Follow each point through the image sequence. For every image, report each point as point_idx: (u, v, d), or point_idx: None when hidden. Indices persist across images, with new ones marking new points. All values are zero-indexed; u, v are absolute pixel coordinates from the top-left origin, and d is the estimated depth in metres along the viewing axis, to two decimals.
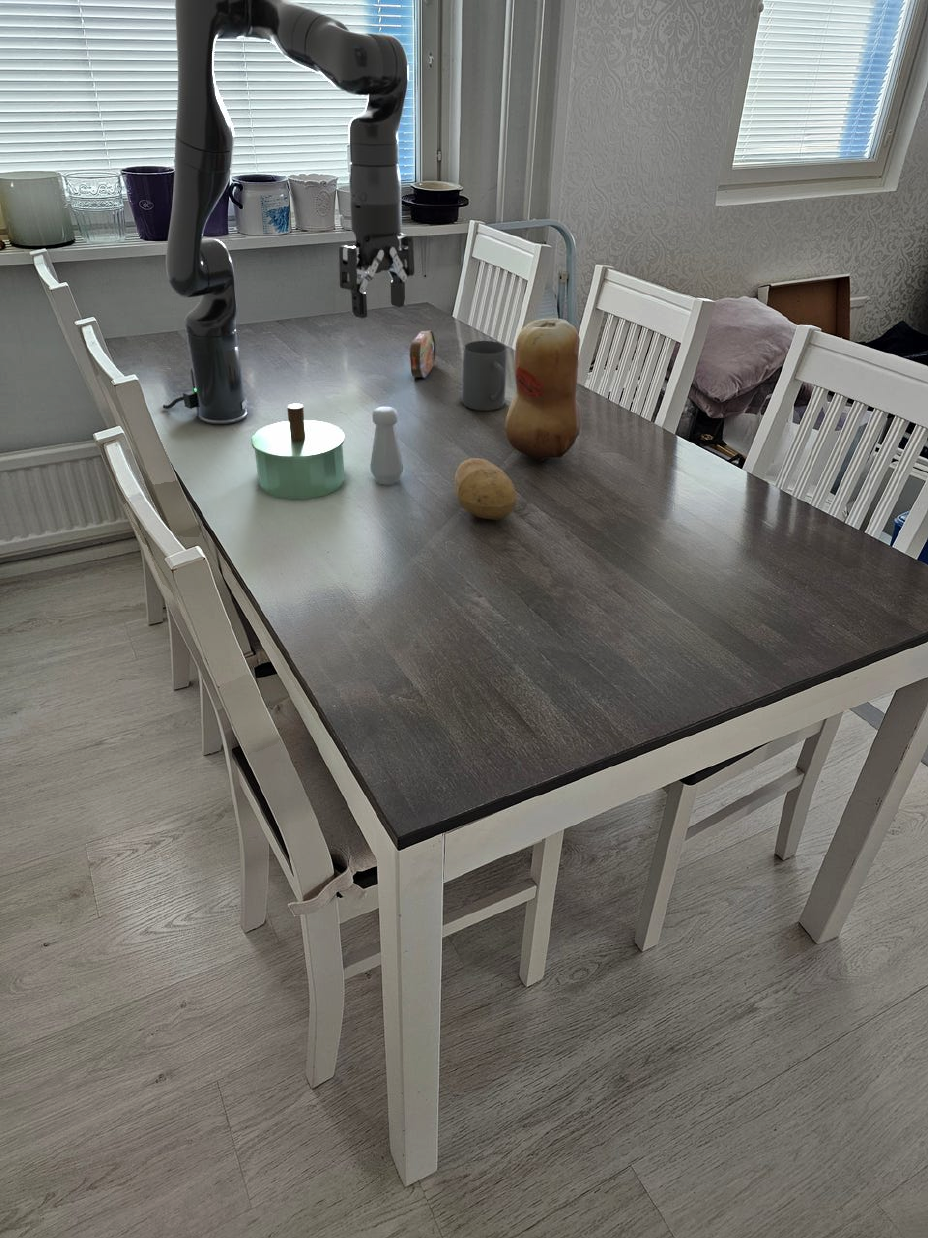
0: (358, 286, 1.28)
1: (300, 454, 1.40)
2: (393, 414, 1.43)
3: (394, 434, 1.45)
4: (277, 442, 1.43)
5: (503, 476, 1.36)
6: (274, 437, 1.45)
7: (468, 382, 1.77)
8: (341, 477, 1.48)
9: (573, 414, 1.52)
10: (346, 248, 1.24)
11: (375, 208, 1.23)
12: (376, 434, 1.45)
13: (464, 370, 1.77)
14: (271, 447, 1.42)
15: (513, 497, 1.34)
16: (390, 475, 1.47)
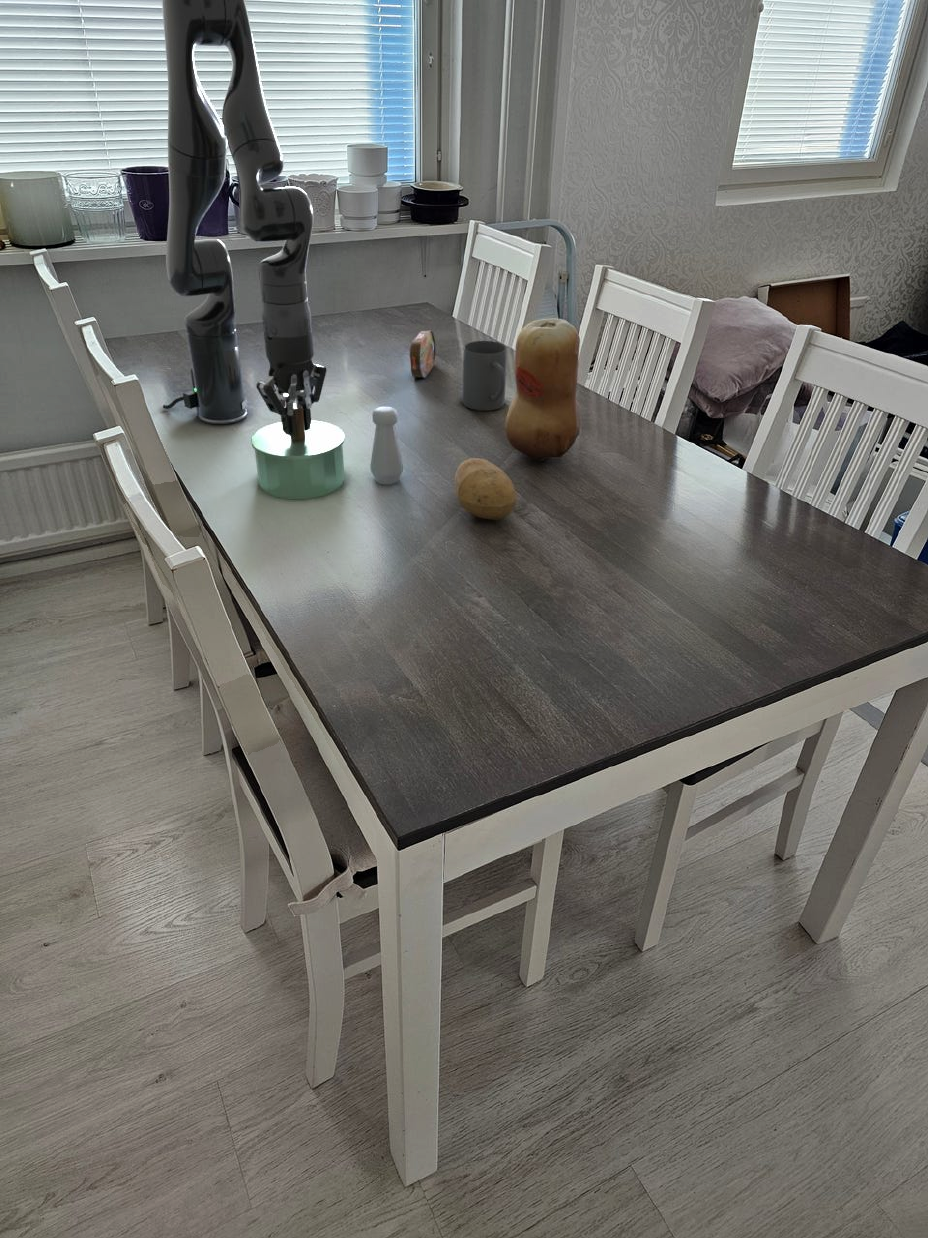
0: (286, 410, 1.40)
1: (300, 454, 1.40)
2: (393, 414, 1.43)
3: (394, 434, 1.45)
4: (277, 442, 1.43)
5: (503, 476, 1.36)
6: (274, 437, 1.45)
7: (468, 382, 1.77)
8: (341, 477, 1.48)
9: (573, 414, 1.52)
10: (261, 387, 1.35)
11: (285, 340, 1.32)
12: (376, 434, 1.45)
13: (464, 370, 1.77)
14: (271, 447, 1.42)
15: (513, 497, 1.34)
16: (390, 475, 1.47)
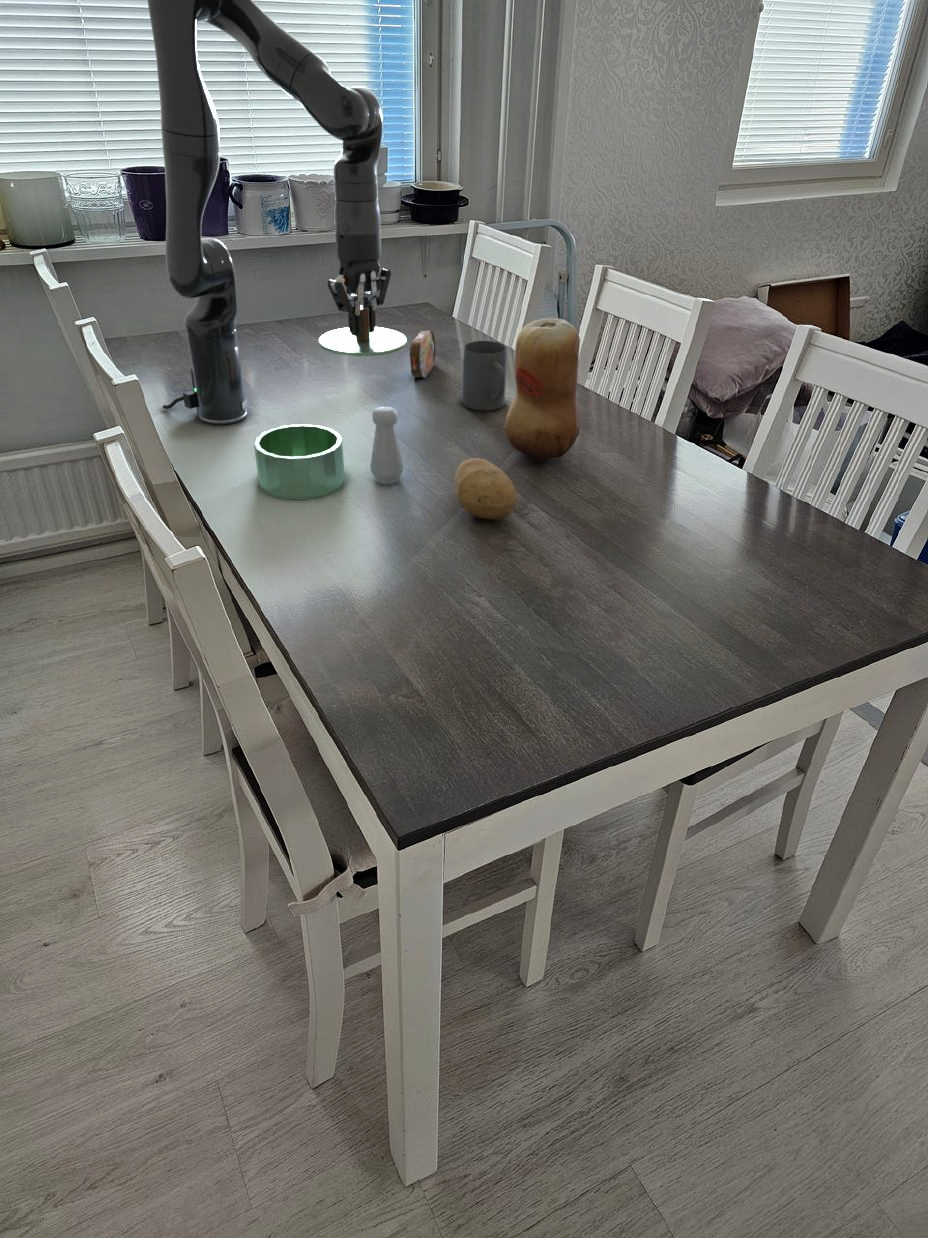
0: (354, 309, 1.47)
1: (367, 351, 1.47)
2: (393, 414, 1.43)
3: (394, 434, 1.45)
4: (344, 342, 1.51)
5: (503, 476, 1.36)
6: (340, 338, 1.52)
7: (468, 382, 1.77)
8: (341, 477, 1.48)
9: (573, 414, 1.52)
10: (333, 284, 1.42)
11: (357, 238, 1.40)
12: (376, 434, 1.45)
13: (464, 370, 1.77)
14: (338, 346, 1.49)
15: (513, 497, 1.34)
16: (390, 475, 1.47)
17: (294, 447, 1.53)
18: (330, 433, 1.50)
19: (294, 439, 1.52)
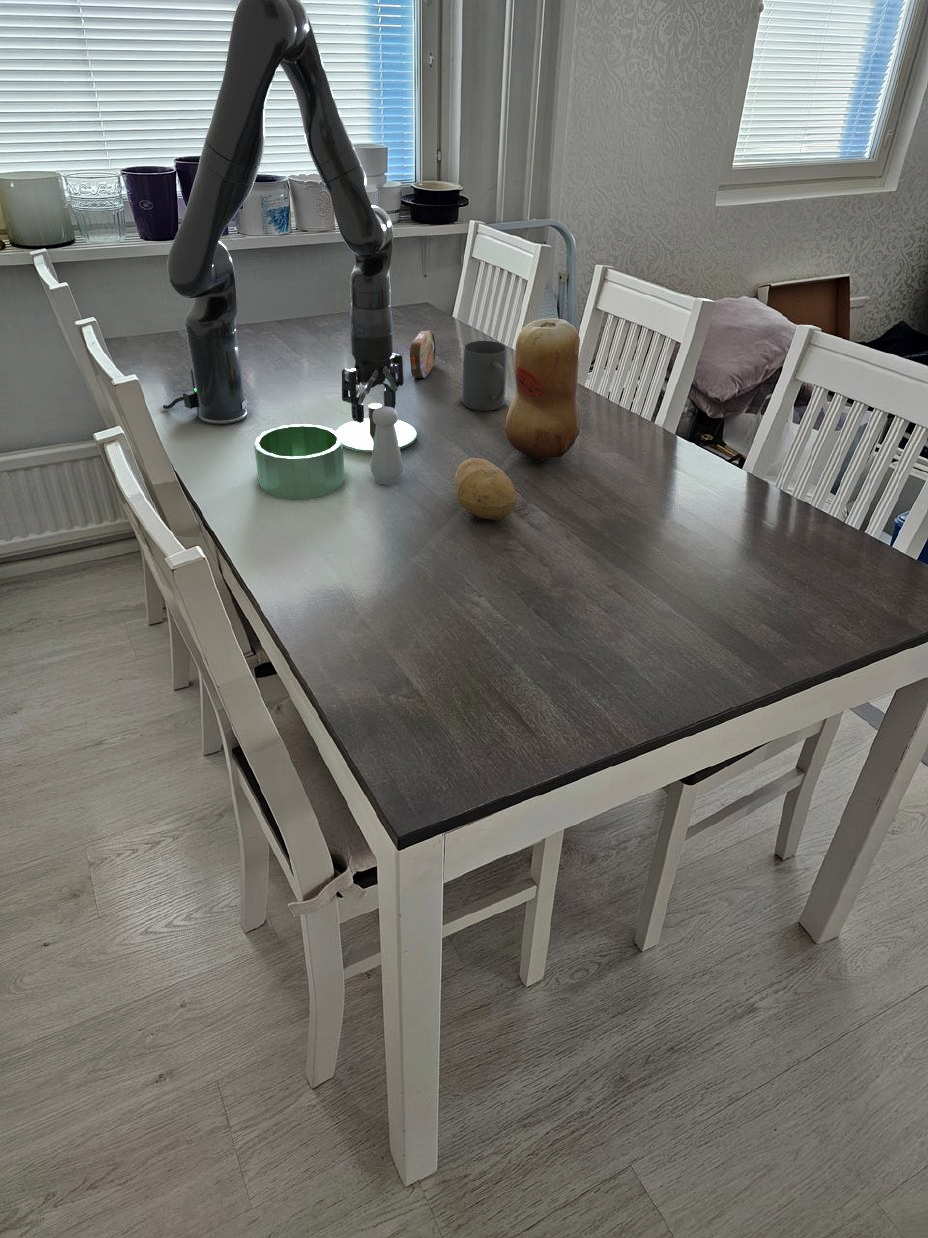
0: (357, 399, 1.57)
1: None
2: (393, 414, 1.43)
3: (394, 434, 1.45)
4: (359, 437, 1.63)
5: (503, 476, 1.36)
6: (355, 433, 1.65)
7: (468, 382, 1.77)
8: (341, 477, 1.48)
9: (573, 414, 1.52)
10: (347, 371, 1.53)
11: (371, 340, 1.51)
12: (376, 434, 1.45)
13: (464, 370, 1.77)
14: (354, 442, 1.61)
15: (513, 497, 1.34)
16: (390, 475, 1.47)
17: (294, 447, 1.53)
18: (330, 433, 1.50)
19: (294, 439, 1.52)
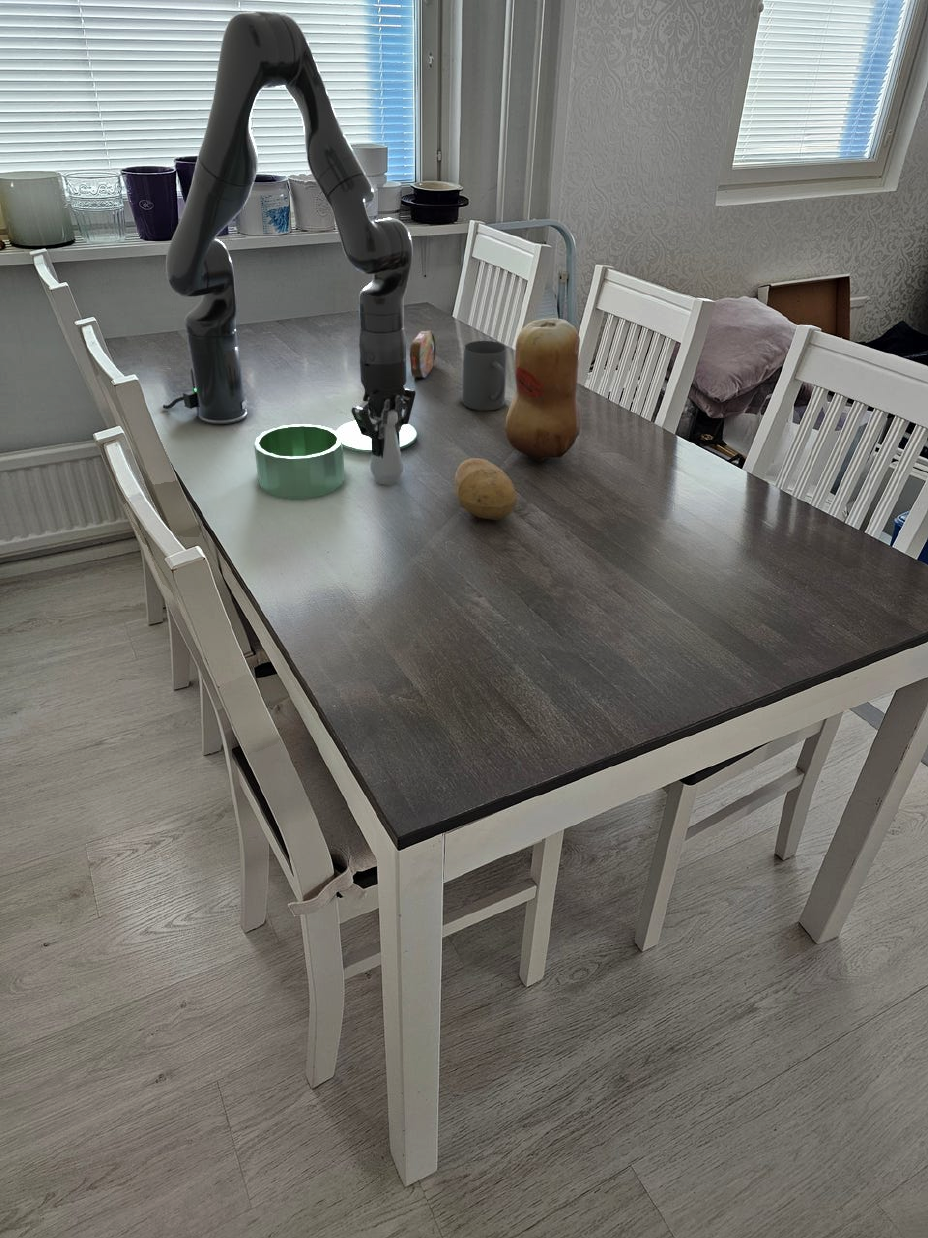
0: (377, 433, 1.43)
1: None
2: (393, 414, 1.43)
3: (394, 434, 1.45)
4: (359, 437, 1.63)
5: (503, 476, 1.36)
6: (355, 433, 1.65)
7: (468, 382, 1.77)
8: (341, 477, 1.48)
9: (573, 414, 1.52)
10: (357, 411, 1.38)
11: (382, 367, 1.36)
12: None
13: (464, 370, 1.77)
14: (354, 442, 1.61)
15: (513, 497, 1.34)
16: (390, 475, 1.47)
17: (294, 447, 1.53)
18: (330, 433, 1.50)
19: (294, 439, 1.52)
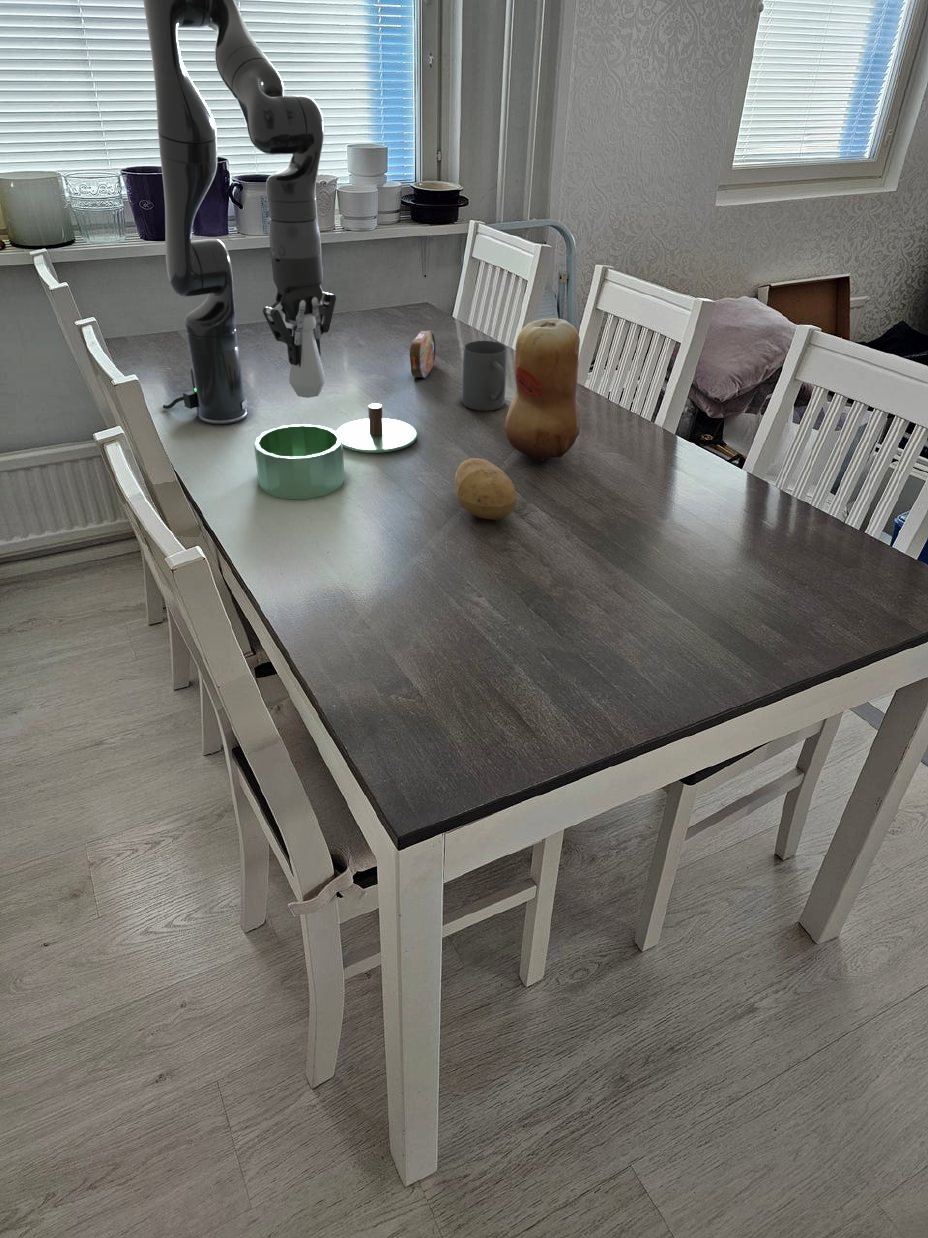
0: (293, 339, 1.34)
1: (381, 448, 1.59)
2: (310, 318, 1.33)
3: (312, 341, 1.36)
4: (359, 437, 1.63)
5: (503, 476, 1.36)
6: (355, 433, 1.65)
7: (468, 382, 1.77)
8: (341, 477, 1.48)
9: (573, 413, 1.52)
10: (268, 311, 1.29)
11: (294, 262, 1.26)
12: None
13: (464, 370, 1.77)
14: (354, 442, 1.61)
15: (513, 497, 1.34)
16: (309, 386, 1.38)
17: (294, 447, 1.53)
18: (330, 433, 1.50)
19: (294, 439, 1.52)
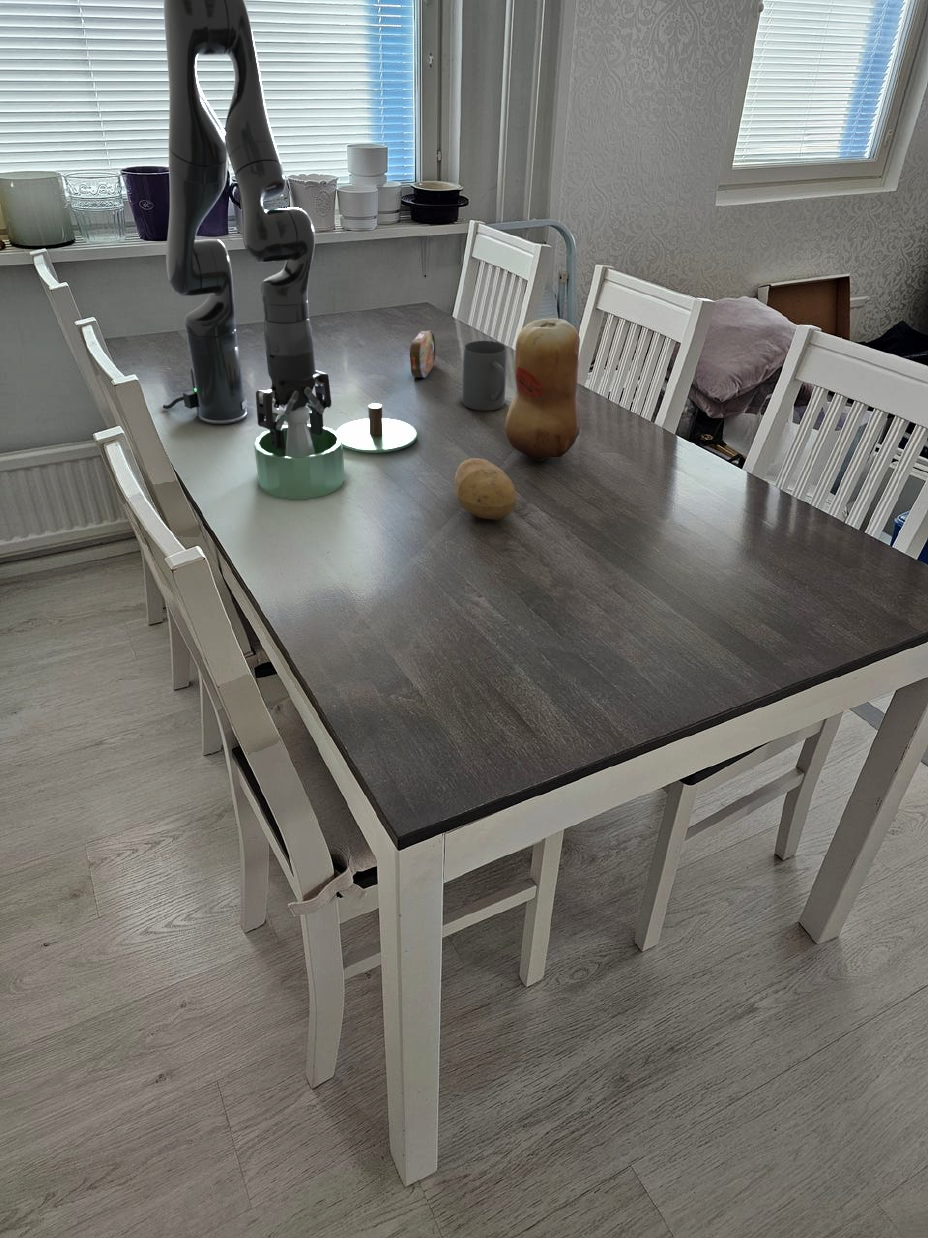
0: (275, 424, 1.39)
1: (381, 448, 1.59)
2: (303, 412, 1.42)
3: (306, 432, 1.44)
4: (359, 437, 1.63)
5: (503, 476, 1.36)
6: (355, 433, 1.65)
7: (468, 382, 1.77)
8: (341, 477, 1.48)
9: (573, 414, 1.52)
10: (261, 393, 1.36)
11: (287, 358, 1.34)
12: (288, 432, 1.44)
13: (464, 370, 1.77)
14: (354, 442, 1.61)
15: (513, 497, 1.34)
16: None
17: None
18: (330, 433, 1.50)
19: None
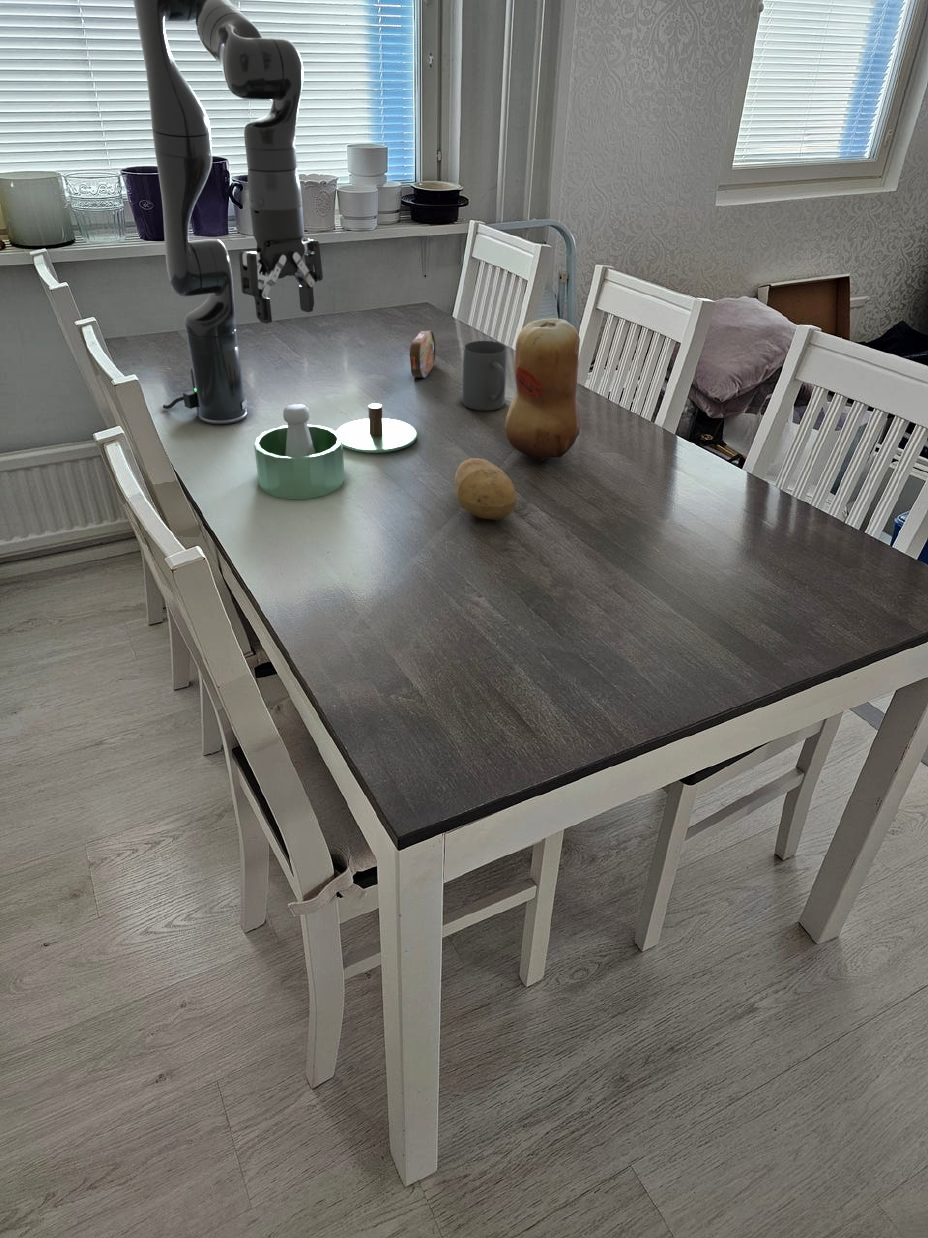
0: (260, 291, 1.27)
1: (381, 448, 1.59)
2: (303, 412, 1.42)
3: (306, 432, 1.44)
4: (359, 437, 1.63)
5: (503, 476, 1.36)
6: (355, 433, 1.65)
7: (468, 382, 1.77)
8: (341, 477, 1.48)
9: (573, 413, 1.52)
10: (245, 253, 1.24)
11: (273, 213, 1.22)
12: (288, 432, 1.44)
13: (464, 370, 1.77)
14: (354, 442, 1.61)
15: (513, 497, 1.34)
16: None
17: None
18: (330, 433, 1.50)
19: None
